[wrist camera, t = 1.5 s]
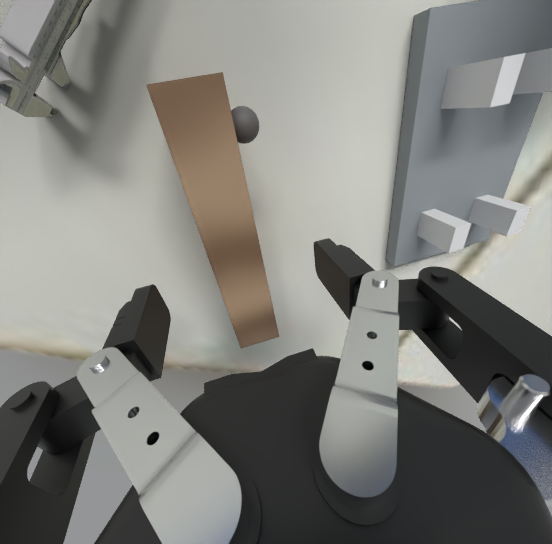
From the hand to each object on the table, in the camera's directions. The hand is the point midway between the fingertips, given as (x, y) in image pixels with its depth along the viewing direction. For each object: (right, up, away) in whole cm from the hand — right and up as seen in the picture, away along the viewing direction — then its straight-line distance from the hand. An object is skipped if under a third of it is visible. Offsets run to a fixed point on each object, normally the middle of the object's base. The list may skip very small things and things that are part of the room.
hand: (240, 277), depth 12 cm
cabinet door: (-3, +6, +8) cm, 10 cm away
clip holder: (+19, +11, +11) cm, 24 cm away
